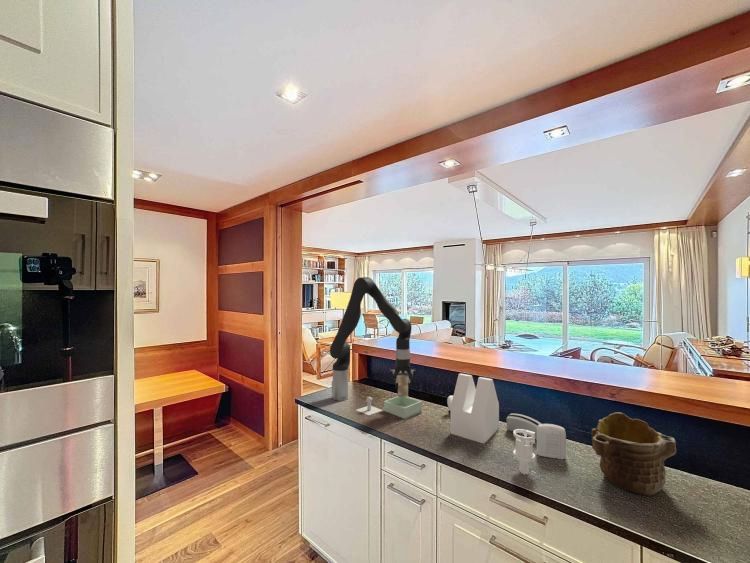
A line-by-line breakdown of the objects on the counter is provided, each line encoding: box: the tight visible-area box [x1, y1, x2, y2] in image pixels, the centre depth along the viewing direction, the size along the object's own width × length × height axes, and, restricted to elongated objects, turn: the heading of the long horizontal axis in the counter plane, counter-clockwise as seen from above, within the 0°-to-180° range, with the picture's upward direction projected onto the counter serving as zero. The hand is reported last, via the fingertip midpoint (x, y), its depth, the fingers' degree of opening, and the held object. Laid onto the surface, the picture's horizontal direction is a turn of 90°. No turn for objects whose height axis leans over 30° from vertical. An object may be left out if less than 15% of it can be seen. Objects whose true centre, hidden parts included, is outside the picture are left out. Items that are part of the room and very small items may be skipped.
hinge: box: [506, 413, 542, 439], centre depth 147 cm, size 17×5×10 cm, turn 39°
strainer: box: [512, 429, 536, 475], centre depth 118 cm, size 7×7×15 cm
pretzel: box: [446, 394, 454, 412], centre depth 171 cm, size 11×12×9 cm
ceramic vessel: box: [591, 411, 677, 496], centre depth 111 cm, size 23×24×25 cm
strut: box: [397, 373, 409, 397], centre depth 172 cm, size 5×5×12 cm
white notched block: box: [450, 372, 500, 444], centre depth 151 cm, size 19×15×25 cm
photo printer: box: [536, 423, 567, 460], centre depth 129 cm, size 10×4×12 cm, turn 73°
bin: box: [383, 395, 423, 421], centre depth 172 cm, size 14×14×6 cm
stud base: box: [356, 396, 383, 416], centre depth 173 cm, size 10×10×8 cm
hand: (402, 389), depth 172 cm, fingers closed on strut, 5 cm apart
